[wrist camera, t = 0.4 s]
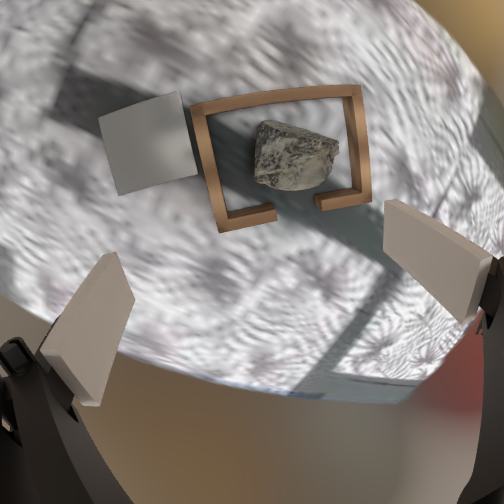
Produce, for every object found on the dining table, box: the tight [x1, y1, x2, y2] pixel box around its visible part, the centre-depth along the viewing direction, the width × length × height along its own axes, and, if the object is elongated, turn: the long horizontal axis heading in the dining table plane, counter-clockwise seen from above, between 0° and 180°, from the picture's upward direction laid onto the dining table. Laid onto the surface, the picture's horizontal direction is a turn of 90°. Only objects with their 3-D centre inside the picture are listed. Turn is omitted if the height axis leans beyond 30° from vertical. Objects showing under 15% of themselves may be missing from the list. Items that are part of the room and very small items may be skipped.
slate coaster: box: [98, 91, 198, 196], centre depth 31 cm, size 11×11×1 cm
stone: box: [254, 120, 339, 191], centre depth 31 cm, size 10×10×10 cm
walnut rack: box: [189, 85, 372, 233], centre depth 33 cm, size 16×21×3 cm
